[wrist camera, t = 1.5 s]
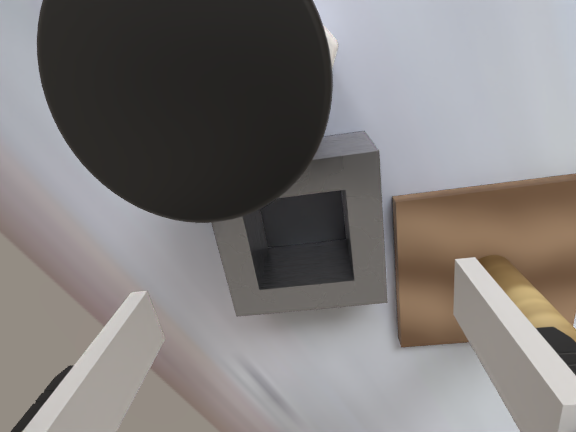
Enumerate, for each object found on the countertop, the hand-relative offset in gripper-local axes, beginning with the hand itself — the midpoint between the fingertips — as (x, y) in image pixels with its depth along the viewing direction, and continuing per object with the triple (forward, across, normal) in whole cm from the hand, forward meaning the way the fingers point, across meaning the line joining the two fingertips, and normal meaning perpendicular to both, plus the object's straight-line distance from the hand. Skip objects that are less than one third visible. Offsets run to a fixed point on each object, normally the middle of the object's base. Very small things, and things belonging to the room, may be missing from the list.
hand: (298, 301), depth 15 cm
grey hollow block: (+10, 0, 0) cm, 10 cm away
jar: (+10, -2, +9) cm, 13 cm away
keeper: (+10, +12, -6) cm, 16 cm away
